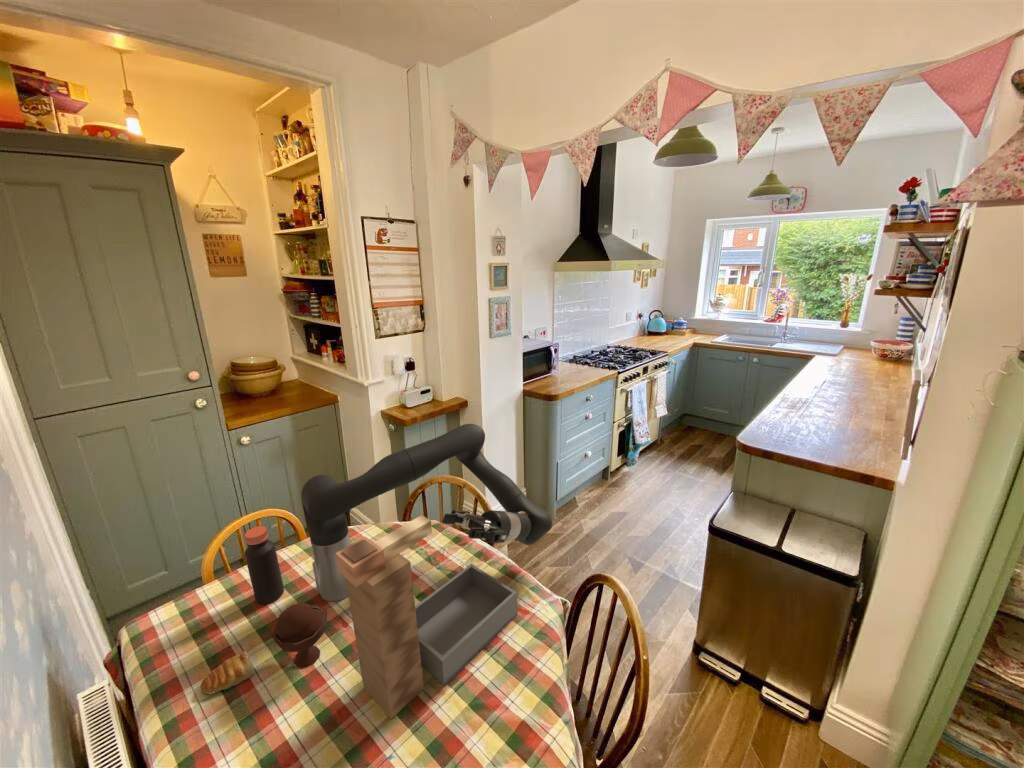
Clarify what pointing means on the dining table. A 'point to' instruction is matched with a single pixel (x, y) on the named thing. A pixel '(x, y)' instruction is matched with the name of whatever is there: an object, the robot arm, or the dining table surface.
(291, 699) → the dining table surface
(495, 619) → the bin
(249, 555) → the bottle
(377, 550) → the catapult arm
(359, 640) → the tower
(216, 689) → the pastry
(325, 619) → the ice cream bowl
